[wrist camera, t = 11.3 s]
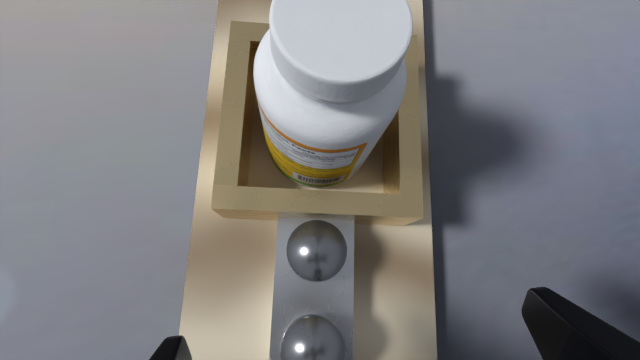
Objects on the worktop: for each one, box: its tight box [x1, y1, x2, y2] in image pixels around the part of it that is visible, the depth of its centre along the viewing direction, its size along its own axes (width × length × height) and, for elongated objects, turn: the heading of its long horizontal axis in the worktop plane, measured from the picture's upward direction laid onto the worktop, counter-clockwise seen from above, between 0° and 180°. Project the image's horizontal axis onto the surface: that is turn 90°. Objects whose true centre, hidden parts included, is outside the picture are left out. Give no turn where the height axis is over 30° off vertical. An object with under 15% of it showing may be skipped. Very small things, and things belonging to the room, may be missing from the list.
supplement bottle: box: [253, 0, 413, 188], centre depth 15 cm, size 5×5×10 cm
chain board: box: [179, 0, 437, 360], centre depth 20 cm, size 25×12×1 cm, turn 178°
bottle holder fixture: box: [211, 21, 424, 360], centre depth 18 cm, size 23×9×3 cm, turn 178°
